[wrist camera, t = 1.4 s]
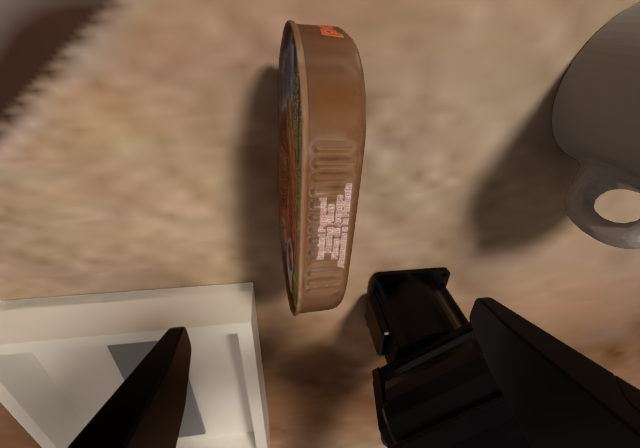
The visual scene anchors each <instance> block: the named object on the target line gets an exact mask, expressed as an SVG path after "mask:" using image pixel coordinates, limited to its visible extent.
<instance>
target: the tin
mask: <svg viewBox="0 0 640 448" xmlns="http://www.w3.org/2000/svg"><path fill="white" fill-rule="evenodd" d="M278 88H279V91H278V119H279V120H278V130H279V216H280V235H281V249H282V259H283V268H284V275H285V282H286V290H287V296H288V301H289V305H290V309H291V312H292V314H293V315H294V316H296V315H298V314H300V313H306V312H314V311H322V310H329V309H333V308H335V307H337V306H338V305H339V304H340V303H341V301H342V299H343V297H344V294H345V290H346V286H347V279H348V272H349V265H350V258H351V251H352V243H353V235H354V229H355V220H356V213H357V205H358V197H359V188H360V181H361V172H362V164H363V156H364V147H365V135H366V93H365V83H364V73H363V69H362V64H361V59H360V56H359V52H358V49H357V47H356V44H355V43H354V41H353V39H352V38H351V37H350V36H349V35H348V34H347V33H346V32H344V31H343V30H342V29H340V28H338V27H333V26H323V25H302V24H296V23H295V22H294V21H291V20H289V21H287V22H286V24H285V27H284V31H283V36H282V42H281V48H280V57H279V77H278Z"/></svg>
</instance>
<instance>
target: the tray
mask: <svg viewBox="0 0 640 448" xmlns="http://www.w3.org/2000/svg"><path fill="white" fill-rule="evenodd" d="M182 326H183V327H185V328H186V330H187V333H188V336H189V339H190V342H191V349H192V350H191V361H190V369H189V378H188V387H187V396H186V403H185V409H184V414H183V418H182V423H181V427H180V432H179V436H178V440H177V445H176V448H269V419H268V410H267V401H266V392H265V383H264V374H263V366H262V357H261V348H260V339H259V330H258V322H257V313H256V304H255V295H254V286H253V282H248V283H234V284H221V285H207V286H193V287H180V288H166V289H153V290H139V291H126V292H112V293H99V294H85V295H71V296H58V297H44V298H31V299H17V300H4V301H0V402H1V403H2V404H3V406H4V407H5V408H6V409H7V410H8V411H9V412H10V413H11V414H12V415H13V417H14V418H15V419H16V420H17V421H18V422H19V423H20V424H21V425H22V426H23V427H24V429H25V430H26V431H27V432H28V433H29V434H30V435H31V436H32V437H33V438H34V439H35V441H36V442H37V443H38V444H39V445H40V446H41V447H42V448H68V446H69V445H70V444H71V442H72V441H73V440H74V439H75V438H76V437H77V435H78V434H79V433H80V432H81V431H82V430H83V428H84V427H85V426H86V425H87V424H88V423H89V421H90V420H91V419H92V418H93V417H94V416H95V414H96V413H97V412H98V411H99V410H100V409H101V407H102V406H103V405H104V404H105V403H106V402H107V400H108V399H109V398H110V397H111V396H112V395H113V393H114V392H115V391H116V390H117V389H118V388H119V386H120V385H121V384H122V383H123V382H124V381H125V379H126V378H127V377H128V376H129V375H130V374H131V372H132V371H133V370H134V369H135V368H136V367H137V365H138V364H139V363H140V362H141V361H142V360H143V358H144V357H145V356H146V355H147V354H148V353H149V351H150V350H151V349H152V348H153V347H154V346H155V344H156V343H157V342H158V341H159V340H160V339H161V337H162V336H163V335H164V334H165V333H166V332H167V330H168V329H170V328H172V327H182Z"/></svg>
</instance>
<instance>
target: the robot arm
mask: <svg viewBox="0 0 640 448" xmlns="http://www.w3.org/2000/svg"><path fill="white" fill-rule="evenodd" d="M449 276H450V272H449V271H448V269H447V268H444V267H442V268H429V269H415V270H402V271H388V272H378V273H376V274H375V275H374V277H373V284H372V290H371V294H370V295H369V296H368V299H367V306H366V313H365V318H366V321H367V326H368V328H369V330H370V333H371V336H372V339H373V342H374V346H375V349H376V352H377V354H378V355H379V356H385V358H386V361H387V365H385V366H383V367H381V368H379V367H378V368H376V369H374V370H373V371H372V374H373V387H374V395H375V403H376V410H377V418H378V426H379V430H380V433H381V440H382V443H383V444H384V445H385V446H386V447H388V448H640V390H639V389H637V388H636V387H634V386H632V385H631V384H629V383H627V382H626V381H624V380H623V379H621V378H619V377H618V376H614V374H613V373H611V372H610V371H608V370H606V369H605V368H603V367H602V366H600V365H598V364H597V363H595V362H594V361H592V360H590V359H589V358H587V357H585V356H584V355H582V354H581V353H579V352H577V351H576V350H574V349H573V348H571V347H569V346H568V345H566V344H565V343H563V342H561V341H560V340H558V339H557V338H555V337H553V336H552V335H550V334H549V333H547V332H545V331H544V330H542V329H540V328H539V327H537V326H536V325H534V324H532V323H531V322H529V321H528V320H526V319H524V318H523V317H521V316H520V315H518V314H516V313H515V312H513V311H512V310H510V309H508V308H507V307H505V306H504V305H502V304H500V303H499V302H497V301H495V300H494V299H492V298H490V297H484V298H477V299H476V300H475V303H474V305H473V308H472V311H471V313H470V322H468V320H467V319H466V317H465V316H464V314H463V313H462V311H461V310H460V308H459V306H458V305H457V303H456V302H455V300H454V299H453V297H452V296H451V294H450V293H449V291H448V290H447V288H446V285H447V282H448V279H449ZM379 278H381V279H379ZM191 350H192V349H191V342H190V339H189V336H188V333H187V330H186V328H185V327H183V326H182V327H172V328H170V329H168V330H167V332H166V333H165V334H164V335H163V336H162V337H161V339H160V340H159V341H158V342H157V343H156V344H155V346H154V347H153V348H152V349H151V350H150V351H149V353H148V354H147V355H146V356H145V357H144V358H143V360H142V361H141V362H140V363H139V364H138V365H137V367H136V368H135V369H134V370H133V371H132V372H131V374H130V375H129V376H128V377H127V378H126V379H125V381H124V382H123V383H122V384H121V385H120V386H119V388H118V389H117V390H116V391H115V392H114V393H113V395H112V396H111V397H110V398H109V399H108V400H107V402H106V403H105V404H104V405H103V406H102V407H101V409H100V410H99V411H98V412H97V413H96V414H95V416H94V417H93V418H92V419H91V420H90V421H89V423H88V424H87V425H86V426H85V427H84V428H83V430H82V431H81V432H80V433H79V434H78V435H77V437H76V438H75V439H74V440H73V441H72V442H71V444H70V445H69V446H68V448H176V445H177V440H178V436H179V432H180V427H181V423H182V418H183V414H184V409H185V403H186V396H187V387H188V378H189V369H190V361H191Z"/></svg>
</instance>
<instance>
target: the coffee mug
mask: <svg viewBox="0 0 640 448" xmlns="http://www.w3.org/2000/svg"><path fill="white" fill-rule="evenodd" d="M552 130H553V135H554V137H555V140H556V142H557V144H558V145H559V147H560V148H561V149H562V150H563V151H564V152H565V153H566V154H567V155H569V156H571V157H573V158H575V159H576V160H578V162H579V170H578V171H577V173H576V175H575V177H574V179H573V181H572V183H571V185H570V187H569V189H568V191H567V194H566V198H565V210H566V212H567V215H568V216H569V218H570V219H571V221H572V222H573V223H574V224H576V225H577V226H578V227H579V228H580V229H581V230H582V231H583V232H585V233H586V234H588V235H590V236H591V237H593V238H594V239H596V240H598V241H600V242H603V243H605V244H607V245H610V246H614V247H618V248H624V249H638V248H640V219H639V220H637V221H634V222H629V223H625V224H624V223H615V222H612V221H609V220H606V219H604V218H602V217H601V216H600V215H599V214H598V213H597V212H596V211H595V209H594V204H595V200H596V199H597V198H598V197H599V196H600V195H601V194H603V193H604V192H606V191H609V190H613V189H627V190H631V191H635V192H638V193H640V2H639V3H637V4H635V5H633V6H631V7H630V8H628V9H626V10H624V11H622V12H621V13H619V14H618V15H617V16H615V17H614V18H612V19H611V20H610V21H609V22H607V23H606V24H605V25H604V26H603V27H602V28H601V29H600V30H599V31H598V32H596V33H595V34H594V35H593V36H592V37H591V39H590V40H589V41H588V42H587V43H586V44H585V45H584V47H583V48H582V49H581V51H580V52H579V53H578V54H577V56H576V57H575V58H574V60H573V62H572V63H571V65H570V66H569V68H568V70H567V72H566V73H565V75H564V77H563V79H562V81H561V84H560V86H559V88H558V91H557V94H556V97H555V100H554V105H553V110H552Z"/></svg>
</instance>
